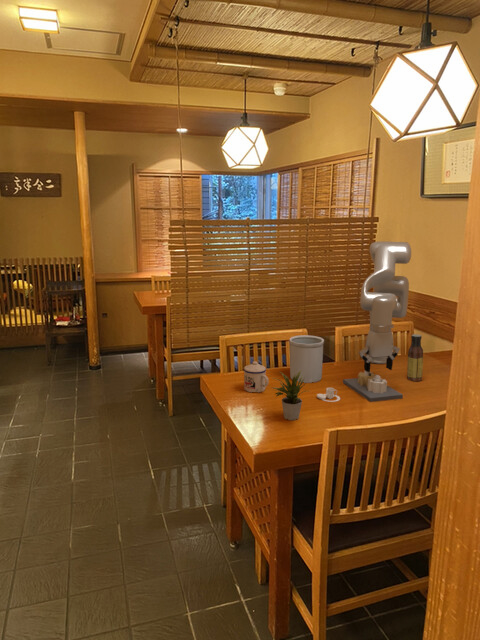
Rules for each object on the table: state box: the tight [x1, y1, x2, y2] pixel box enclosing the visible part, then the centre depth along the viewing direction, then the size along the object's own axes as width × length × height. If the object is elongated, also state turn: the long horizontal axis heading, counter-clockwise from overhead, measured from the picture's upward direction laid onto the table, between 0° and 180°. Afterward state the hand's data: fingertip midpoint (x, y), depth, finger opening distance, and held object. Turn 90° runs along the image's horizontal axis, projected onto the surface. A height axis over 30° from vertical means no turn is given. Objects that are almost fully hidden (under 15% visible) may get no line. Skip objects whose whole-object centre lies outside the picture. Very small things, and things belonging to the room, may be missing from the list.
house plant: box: [272, 371, 311, 421], centre depth 160 cm, size 14×14×16 cm
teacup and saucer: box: [316, 387, 341, 403], centre depth 178 cm, size 9×8×4 cm
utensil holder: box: [288, 334, 325, 384], centre depth 199 cm, size 15×15×18 cm
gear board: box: [342, 370, 404, 403], centre depth 185 cm, size 22×14×8 cm, turn 15°
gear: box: [367, 377, 388, 393], centre depth 182 cm, size 7×7×4 cm
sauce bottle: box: [406, 333, 424, 382], centre depth 197 cm, size 7×6×20 cm
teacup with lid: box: [243, 361, 270, 393], centre depth 184 cm, size 12×9×12 cm
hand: (378, 370), depth 181 cm, fingers open, 9 cm apart
